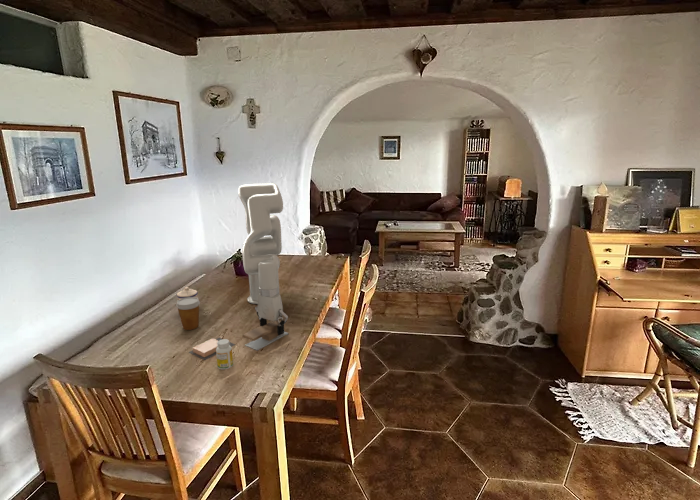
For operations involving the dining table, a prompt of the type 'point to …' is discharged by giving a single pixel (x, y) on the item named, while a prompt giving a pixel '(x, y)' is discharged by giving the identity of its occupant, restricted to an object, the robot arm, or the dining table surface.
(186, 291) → the teacup with lid
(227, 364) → the supplement bottle
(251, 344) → the rest
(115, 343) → the dining table surface
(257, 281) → the robot arm
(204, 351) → the tile
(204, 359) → the mat
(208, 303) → the dining table surface
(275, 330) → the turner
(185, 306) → the disposable coffee cup
